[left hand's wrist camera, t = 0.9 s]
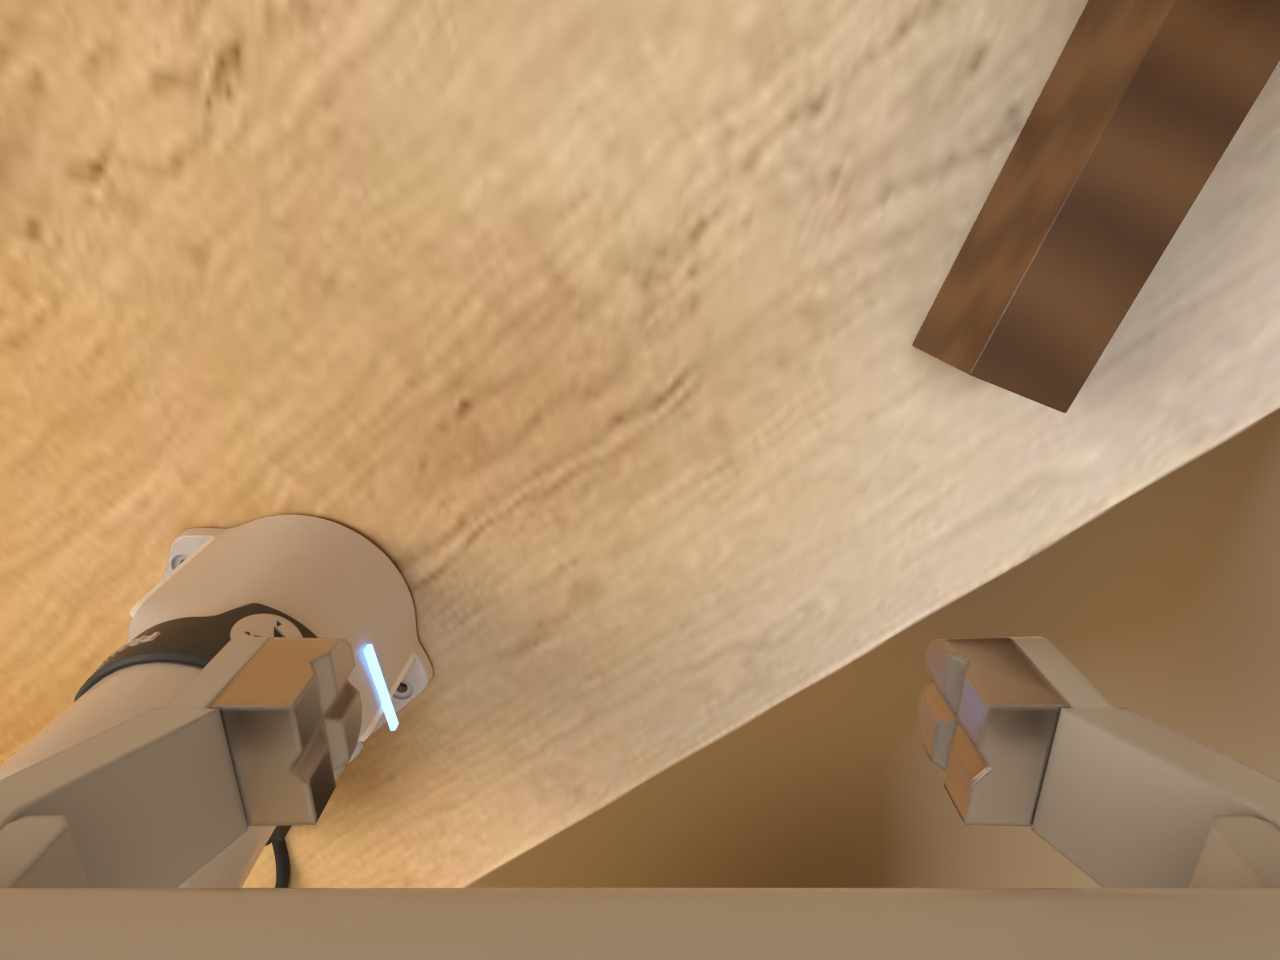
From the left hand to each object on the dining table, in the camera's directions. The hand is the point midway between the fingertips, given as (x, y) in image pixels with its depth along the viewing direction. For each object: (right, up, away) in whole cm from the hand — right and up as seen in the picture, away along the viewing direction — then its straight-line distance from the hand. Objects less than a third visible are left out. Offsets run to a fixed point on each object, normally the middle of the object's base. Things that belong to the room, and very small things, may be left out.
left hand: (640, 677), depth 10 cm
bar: (+23, +21, +29) cm, 42 cm away
